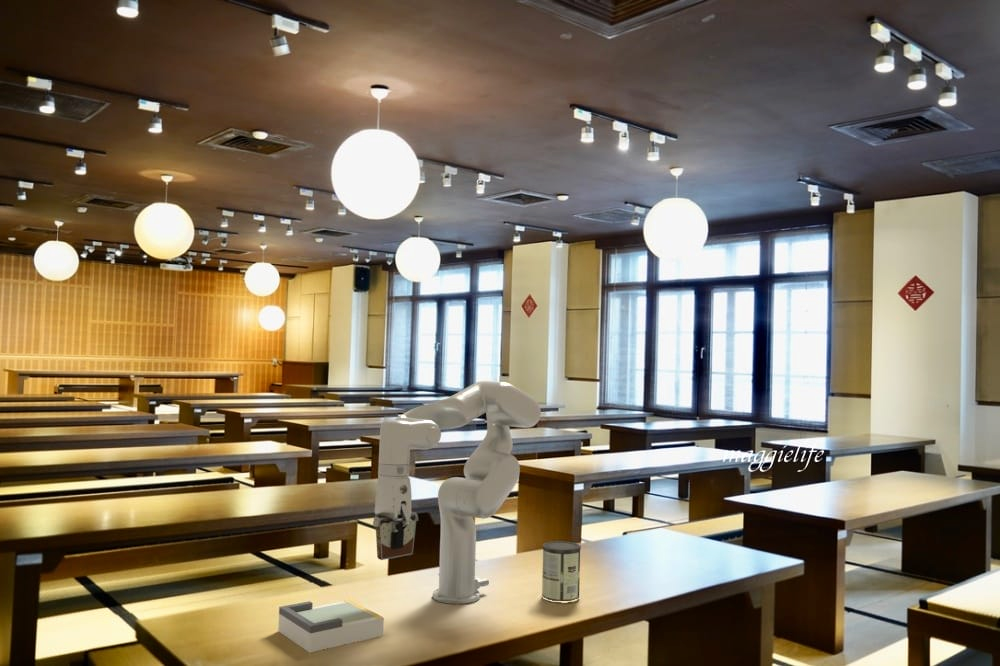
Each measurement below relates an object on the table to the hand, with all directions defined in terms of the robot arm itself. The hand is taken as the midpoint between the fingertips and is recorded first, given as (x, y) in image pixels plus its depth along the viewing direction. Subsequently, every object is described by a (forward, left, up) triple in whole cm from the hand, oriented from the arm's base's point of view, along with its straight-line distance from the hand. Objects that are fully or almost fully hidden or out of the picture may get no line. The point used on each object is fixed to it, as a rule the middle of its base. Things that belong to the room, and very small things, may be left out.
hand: (390, 544), depth 188 cm
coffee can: (-47, +12, -18) cm, 51 cm away
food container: (0, -1, -3) cm, 3 cm away
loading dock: (+16, +2, -18) cm, 24 cm away
